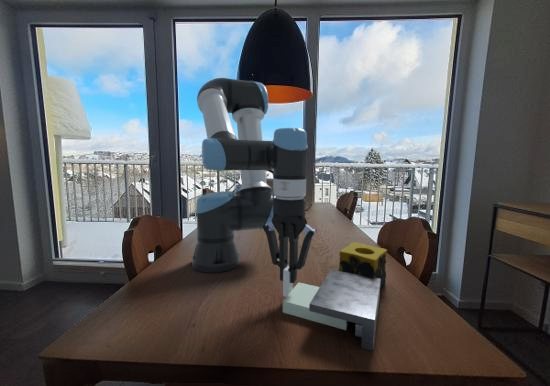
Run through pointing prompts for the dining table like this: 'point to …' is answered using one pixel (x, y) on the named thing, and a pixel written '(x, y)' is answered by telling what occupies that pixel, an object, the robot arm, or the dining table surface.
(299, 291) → the mint green panel
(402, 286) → the dining table surface
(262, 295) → the dining table surface
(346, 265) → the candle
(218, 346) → the dining table surface
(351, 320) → the riser
